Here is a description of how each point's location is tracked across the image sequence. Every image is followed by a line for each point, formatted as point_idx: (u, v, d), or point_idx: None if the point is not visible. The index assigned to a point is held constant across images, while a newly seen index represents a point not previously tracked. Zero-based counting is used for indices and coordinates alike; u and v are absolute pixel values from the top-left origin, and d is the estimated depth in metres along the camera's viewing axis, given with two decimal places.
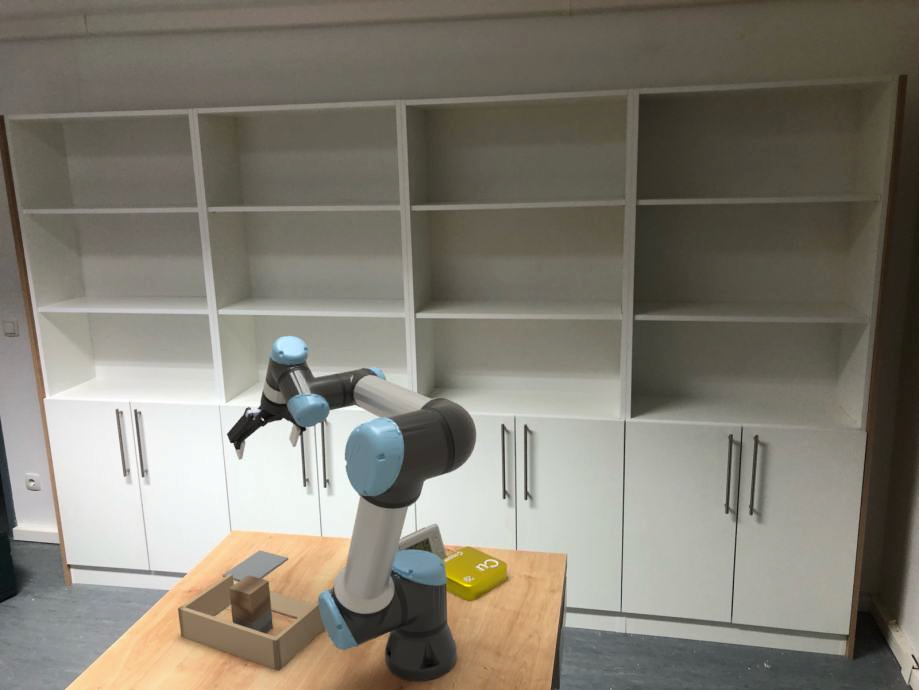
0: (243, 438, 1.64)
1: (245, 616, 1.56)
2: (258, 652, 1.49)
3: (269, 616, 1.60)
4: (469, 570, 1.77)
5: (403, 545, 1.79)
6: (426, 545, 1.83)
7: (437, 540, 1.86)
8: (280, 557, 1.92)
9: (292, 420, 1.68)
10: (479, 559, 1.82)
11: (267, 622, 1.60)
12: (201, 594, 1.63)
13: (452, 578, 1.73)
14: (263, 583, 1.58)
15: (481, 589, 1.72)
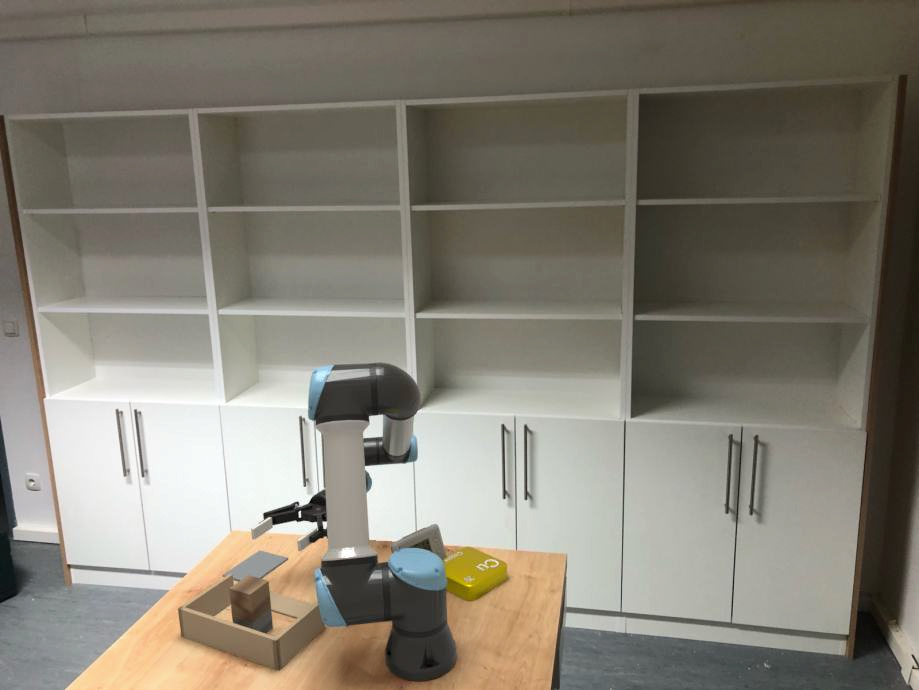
0: (274, 514, 1.75)
1: (245, 616, 1.56)
2: (258, 652, 1.49)
3: (269, 616, 1.60)
4: (469, 570, 1.76)
5: (403, 545, 1.79)
6: (426, 546, 1.83)
7: (437, 540, 1.86)
8: (280, 557, 1.92)
9: (319, 518, 1.72)
10: (479, 559, 1.82)
11: (267, 622, 1.60)
12: (201, 594, 1.63)
13: (453, 578, 1.73)
14: (263, 583, 1.58)
15: (481, 589, 1.72)
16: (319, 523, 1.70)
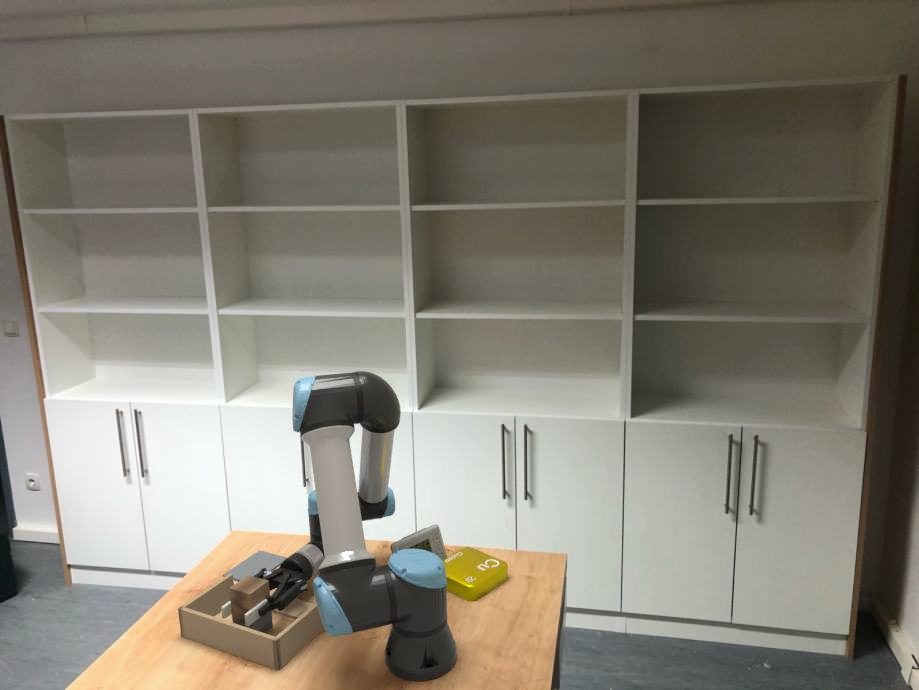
0: None
1: None
2: (258, 652, 1.49)
3: (269, 616, 1.60)
4: (470, 570, 1.76)
5: (403, 546, 1.78)
6: (426, 546, 1.83)
7: (438, 541, 1.85)
8: (280, 557, 1.92)
9: (280, 586, 1.64)
10: (480, 559, 1.82)
11: (267, 622, 1.60)
12: (201, 594, 1.63)
13: (454, 578, 1.73)
14: (263, 583, 1.58)
15: (483, 589, 1.72)
16: (275, 593, 1.61)
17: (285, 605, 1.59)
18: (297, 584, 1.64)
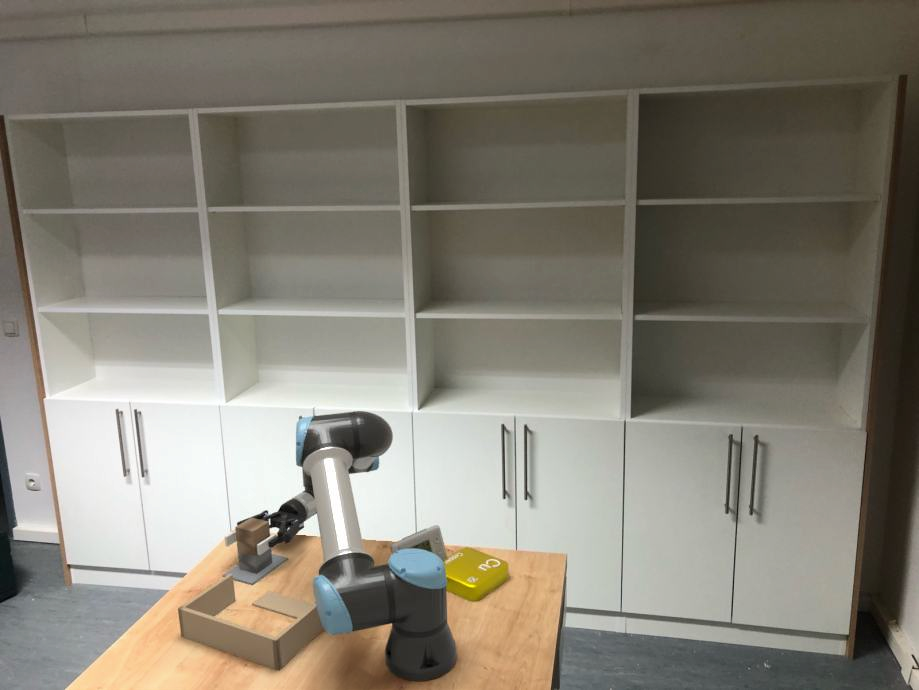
0: None
1: (249, 551, 1.83)
2: (258, 652, 1.49)
3: (269, 552, 1.88)
4: (472, 571, 1.76)
5: (403, 546, 1.78)
6: (426, 547, 1.83)
7: (438, 542, 1.85)
8: (280, 557, 1.92)
9: (282, 524, 1.91)
10: (480, 559, 1.82)
11: (267, 557, 1.87)
12: (201, 594, 1.63)
13: (456, 579, 1.73)
14: (264, 523, 1.86)
15: (485, 589, 1.72)
16: (280, 529, 1.88)
17: (290, 539, 1.87)
18: (296, 522, 1.92)
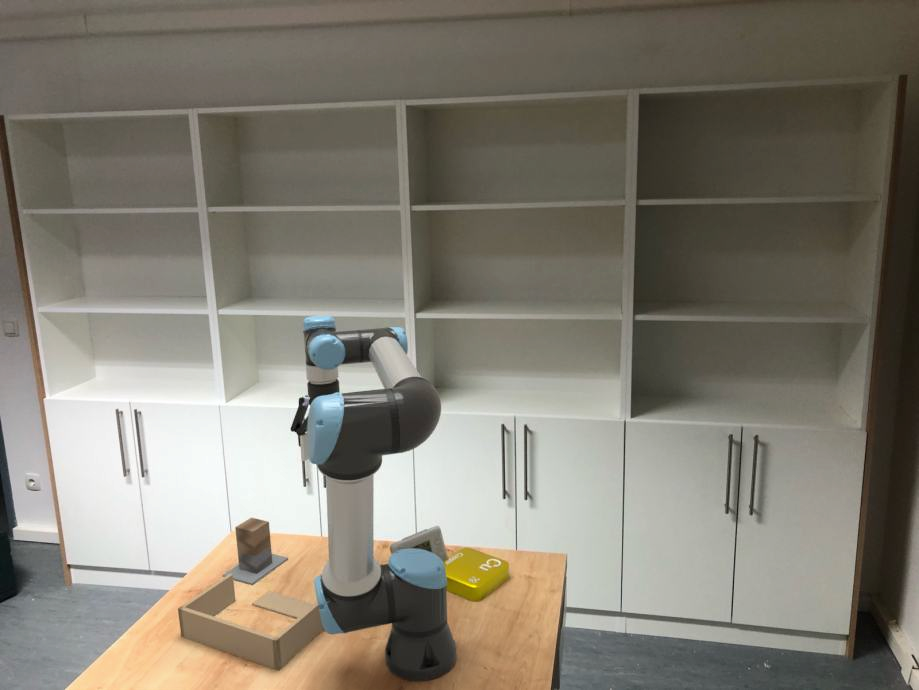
0: (300, 429, 1.75)
1: (249, 551, 1.83)
2: (258, 652, 1.49)
3: (269, 552, 1.88)
4: (473, 571, 1.76)
5: (403, 546, 1.78)
6: (426, 548, 1.82)
7: (438, 542, 1.85)
8: (280, 557, 1.92)
9: None
10: (481, 559, 1.81)
11: (267, 557, 1.87)
12: (201, 594, 1.63)
13: (457, 579, 1.73)
14: (264, 523, 1.86)
15: (487, 589, 1.72)
16: None
17: None
18: None
